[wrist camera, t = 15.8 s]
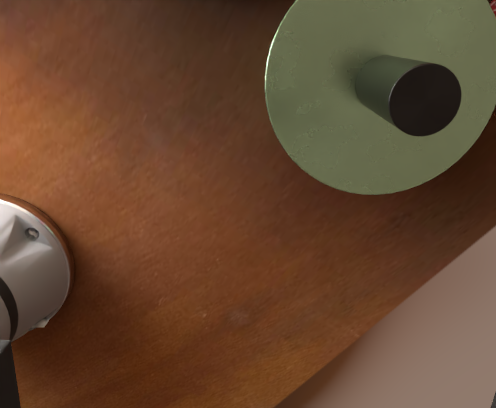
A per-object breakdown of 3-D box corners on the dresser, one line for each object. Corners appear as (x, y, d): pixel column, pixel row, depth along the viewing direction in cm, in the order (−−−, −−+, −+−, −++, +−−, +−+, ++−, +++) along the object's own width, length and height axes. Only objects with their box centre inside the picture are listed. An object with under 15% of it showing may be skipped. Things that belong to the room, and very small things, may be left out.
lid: (255, 180, 34) (255, 231, 25) (276, -58, 28) (286, -97, 20) (462, 197, 34) (533, 254, 26) (524, -36, 29) (640, -64, 20)
